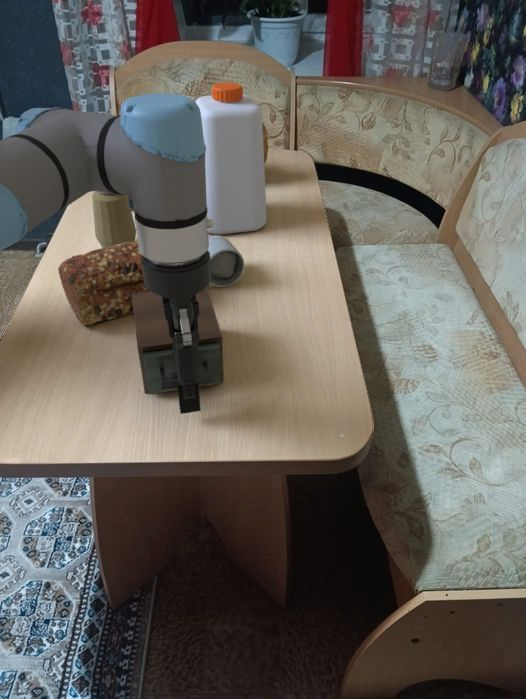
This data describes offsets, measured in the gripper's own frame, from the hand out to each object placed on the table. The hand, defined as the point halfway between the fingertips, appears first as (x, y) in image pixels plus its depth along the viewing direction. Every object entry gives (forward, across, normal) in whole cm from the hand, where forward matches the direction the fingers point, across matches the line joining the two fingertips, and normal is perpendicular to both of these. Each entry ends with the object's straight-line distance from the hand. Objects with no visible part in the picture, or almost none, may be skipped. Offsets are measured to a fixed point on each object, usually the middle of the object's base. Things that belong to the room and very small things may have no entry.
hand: (190, 409), depth 73 cm
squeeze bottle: (0, +51, +8) cm, 51 cm away
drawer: (+1, +10, 0) cm, 10 cm away
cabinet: (+2, +14, 0) cm, 14 cm away
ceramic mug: (+1, +36, -9) cm, 37 cm away
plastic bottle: (0, +60, -17) cm, 62 cm away
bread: (+1, +32, +8) cm, 33 cm away
